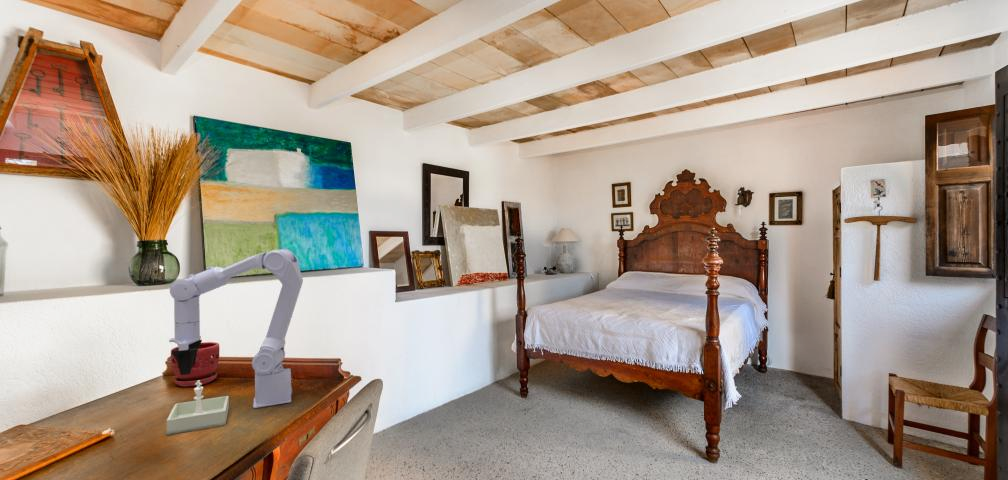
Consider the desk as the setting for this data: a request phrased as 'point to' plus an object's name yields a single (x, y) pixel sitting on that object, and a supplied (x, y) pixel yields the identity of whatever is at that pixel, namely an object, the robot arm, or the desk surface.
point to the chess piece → (198, 398)
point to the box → (185, 422)
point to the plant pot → (199, 365)
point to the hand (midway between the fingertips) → (187, 370)
